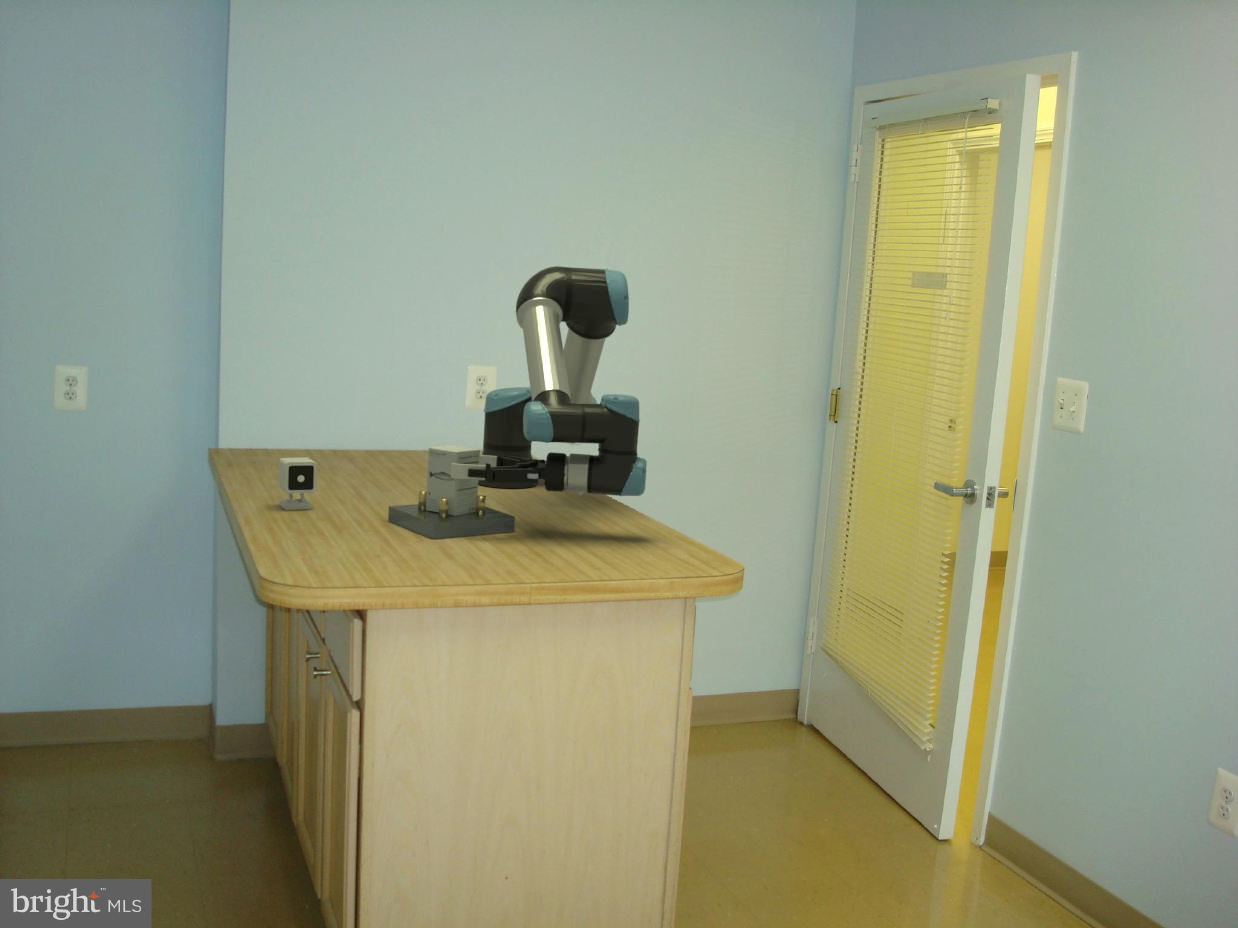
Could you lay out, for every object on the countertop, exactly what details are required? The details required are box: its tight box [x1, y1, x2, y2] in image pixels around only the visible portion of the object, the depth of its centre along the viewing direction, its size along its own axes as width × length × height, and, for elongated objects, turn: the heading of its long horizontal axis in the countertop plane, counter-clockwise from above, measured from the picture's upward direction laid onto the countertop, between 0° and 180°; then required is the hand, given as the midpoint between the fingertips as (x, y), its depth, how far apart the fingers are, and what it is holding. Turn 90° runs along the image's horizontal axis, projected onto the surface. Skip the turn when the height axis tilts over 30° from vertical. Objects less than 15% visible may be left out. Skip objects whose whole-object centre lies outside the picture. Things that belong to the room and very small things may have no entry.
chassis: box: [387, 490, 516, 540], centre depth 227 cm, size 18×18×6 cm
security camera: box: [278, 457, 318, 511], centre depth 236 cm, size 6×7×10 cm
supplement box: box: [426, 444, 481, 516], centre depth 226 cm, size 7×7×13 cm
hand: (457, 465), depth 225 cm, fingers open, 13 cm apart
